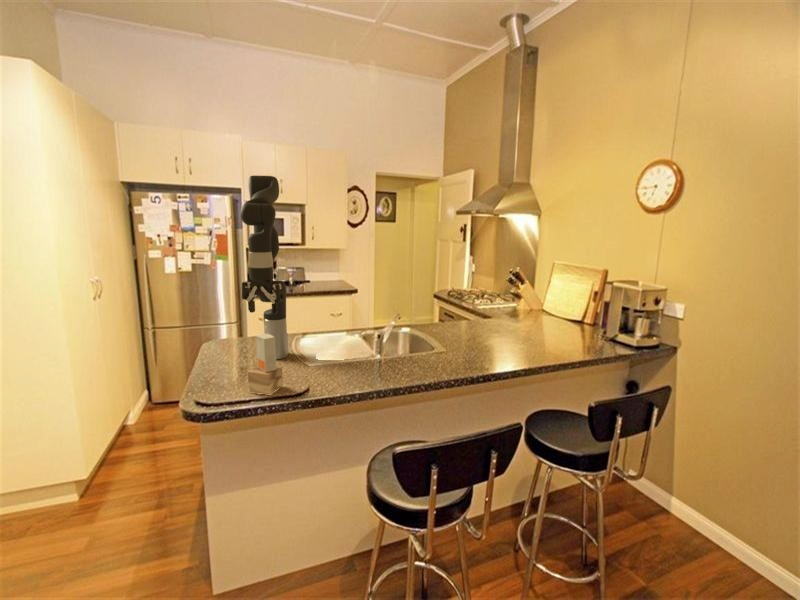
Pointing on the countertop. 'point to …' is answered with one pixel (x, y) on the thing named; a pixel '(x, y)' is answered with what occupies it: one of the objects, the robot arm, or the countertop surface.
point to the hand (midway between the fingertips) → (263, 313)
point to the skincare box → (266, 352)
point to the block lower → (265, 387)
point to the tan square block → (264, 376)
